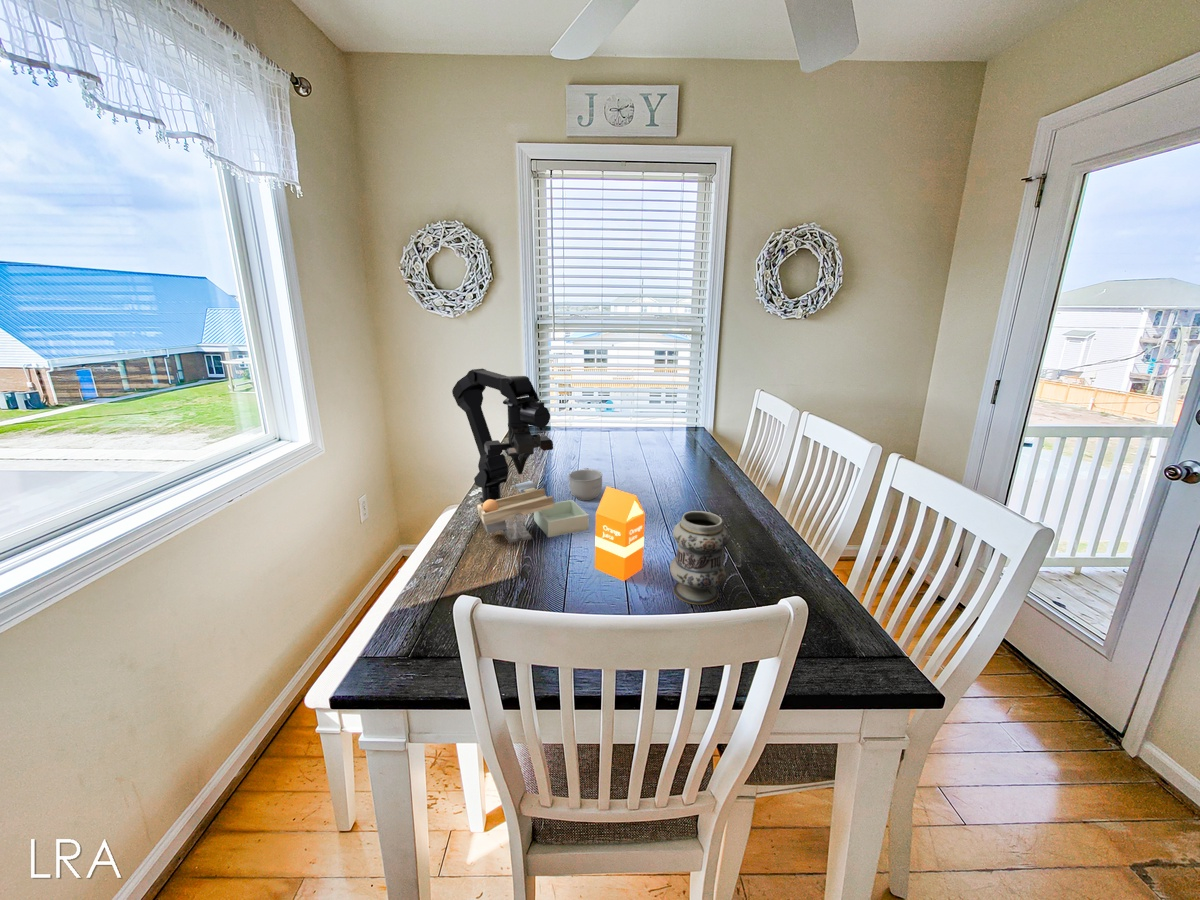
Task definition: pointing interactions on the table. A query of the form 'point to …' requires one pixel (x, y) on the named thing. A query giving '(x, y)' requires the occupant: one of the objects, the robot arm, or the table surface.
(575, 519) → the bin
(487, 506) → the ball
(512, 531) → the pivot stand
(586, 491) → the teacup
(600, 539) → the orange juice
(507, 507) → the lever
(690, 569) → the apothecary jar
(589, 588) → the table surface
